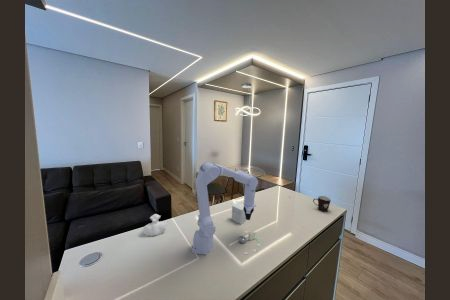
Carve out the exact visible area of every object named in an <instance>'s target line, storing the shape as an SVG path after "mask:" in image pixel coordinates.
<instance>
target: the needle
mask: <svg viewBox="0 0 450 300" xmlns="http://www.w3.org/2000/svg"><path fill="white" fill-rule="evenodd" d="M255 236H256V232H255V231H254V230H252V231H249V232H248V236H247V237H246V236H240V237H238V238H239V240H238V242H239V243H240V244H242V245H244V244H246V243H247V241H252V240H256V239H255Z"/></svg>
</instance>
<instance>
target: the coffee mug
mask: <svg viewBox="0 0 450 300" xmlns="http://www.w3.org/2000/svg"><path fill="white" fill-rule="evenodd" d="M312 200H313V201H312V202H313V203H315V201H316V200H317V203H315V206H317V209H318V210H319V212H322V213H327V212H328V211H329V208H330V205H331V201H332V199H331V198H330V197H329V196H326V195H318V196H317V198H313V199H312Z"/></svg>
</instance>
